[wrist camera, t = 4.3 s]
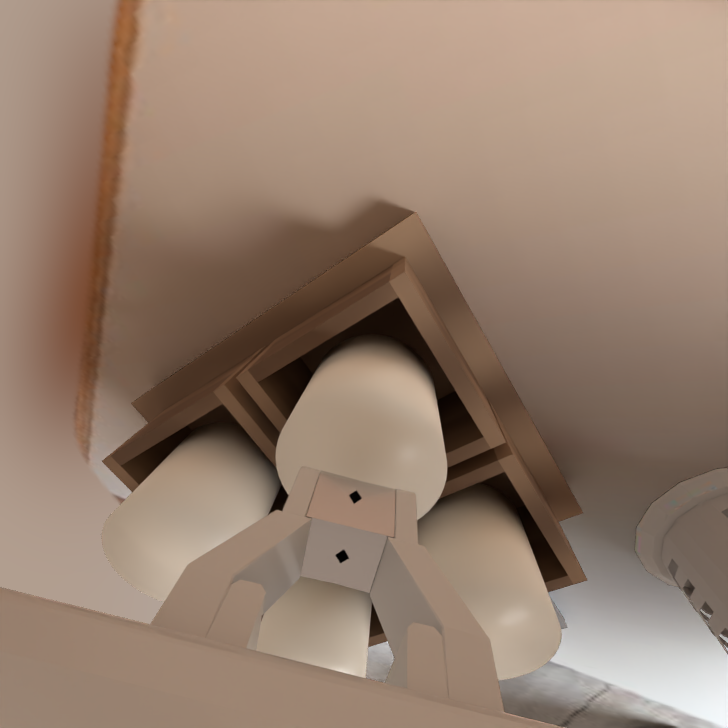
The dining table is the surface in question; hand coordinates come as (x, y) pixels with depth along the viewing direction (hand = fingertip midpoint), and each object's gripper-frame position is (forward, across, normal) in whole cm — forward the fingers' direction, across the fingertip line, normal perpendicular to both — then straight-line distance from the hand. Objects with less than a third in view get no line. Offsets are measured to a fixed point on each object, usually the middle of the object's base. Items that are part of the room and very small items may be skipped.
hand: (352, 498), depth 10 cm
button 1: (+6, 0, 0) cm, 6 cm away
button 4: (+6, 0, +11) cm, 13 cm away
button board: (+11, 0, +6) cm, 13 cm away
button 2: (+6, +6, +6) cm, 10 cm away
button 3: (+6, -6, +6) cm, 10 cm away
